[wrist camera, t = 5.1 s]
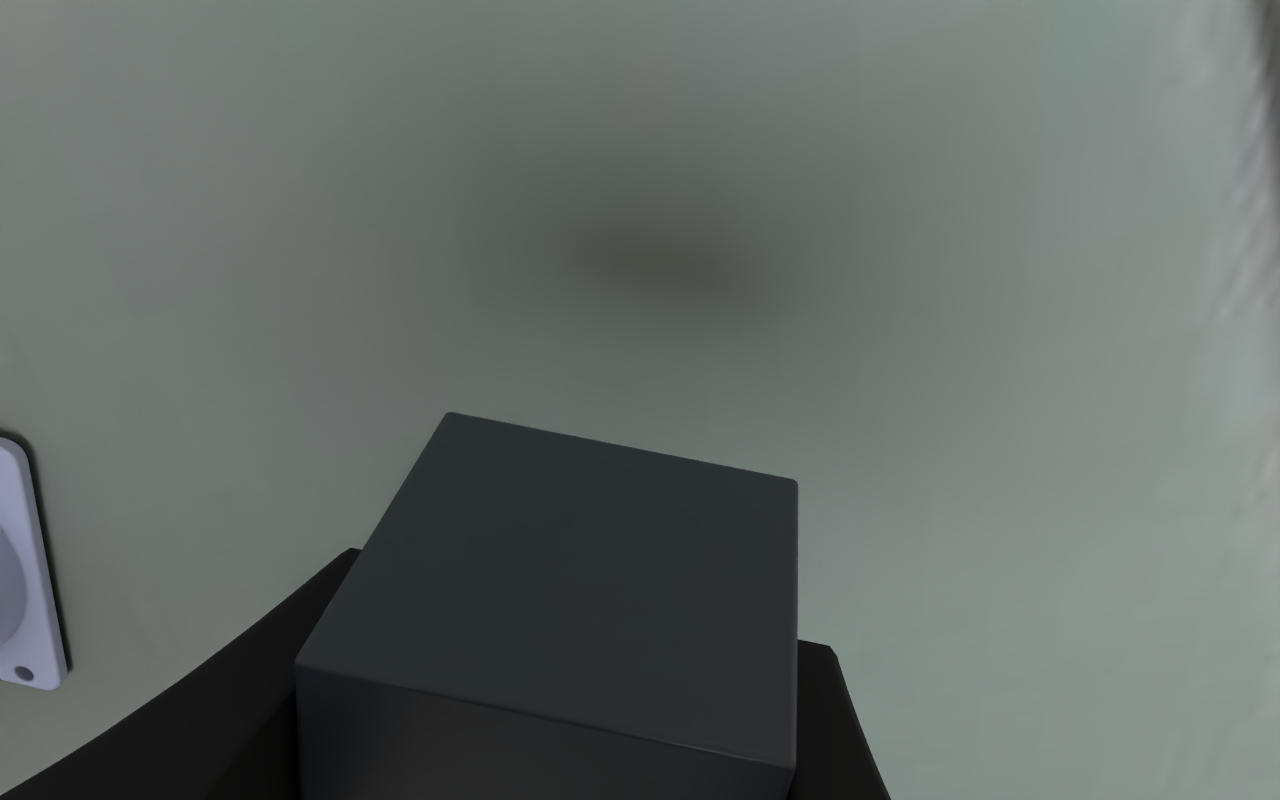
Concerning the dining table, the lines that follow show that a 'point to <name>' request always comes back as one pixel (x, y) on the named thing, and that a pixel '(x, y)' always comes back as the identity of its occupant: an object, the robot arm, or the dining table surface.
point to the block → (559, 630)
